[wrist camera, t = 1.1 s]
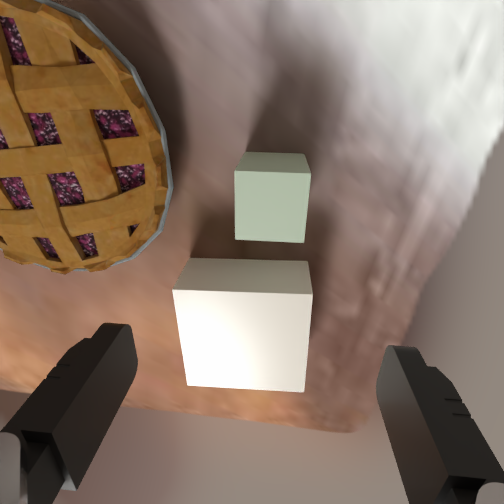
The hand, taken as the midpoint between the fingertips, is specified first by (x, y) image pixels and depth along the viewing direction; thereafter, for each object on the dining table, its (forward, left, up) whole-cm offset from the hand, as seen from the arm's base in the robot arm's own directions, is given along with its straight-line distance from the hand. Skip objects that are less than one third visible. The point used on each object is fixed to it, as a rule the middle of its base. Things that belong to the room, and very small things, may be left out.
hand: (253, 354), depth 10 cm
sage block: (0, 0, -20) cm, 20 cm away
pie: (-2, -19, -21) cm, 28 cm away
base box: (+14, -2, -21) cm, 25 cm away
